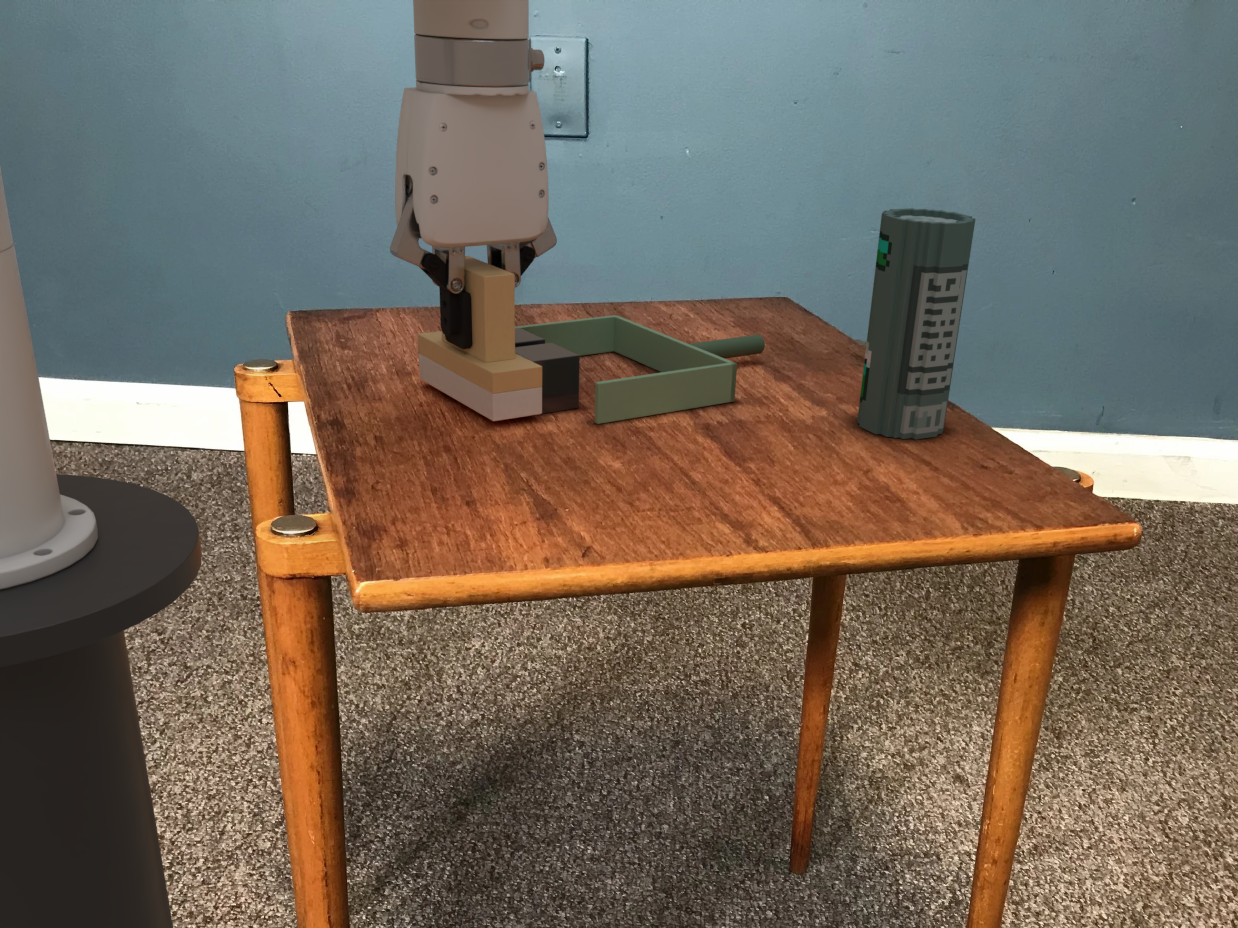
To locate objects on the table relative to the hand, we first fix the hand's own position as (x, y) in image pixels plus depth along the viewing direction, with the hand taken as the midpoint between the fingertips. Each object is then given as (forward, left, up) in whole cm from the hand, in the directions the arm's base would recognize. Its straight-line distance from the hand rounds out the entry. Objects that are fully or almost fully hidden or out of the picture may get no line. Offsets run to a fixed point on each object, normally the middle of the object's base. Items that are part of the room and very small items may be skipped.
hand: (477, 340), depth 95 cm
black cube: (+4, -2, -5) cm, 7 cm away
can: (+25, -19, -5) cm, 32 cm away
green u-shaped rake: (+16, 0, -5) cm, 17 cm away
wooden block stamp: (0, 0, -4) cm, 4 cm away
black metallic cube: (+4, +3, -5) cm, 7 cm away
